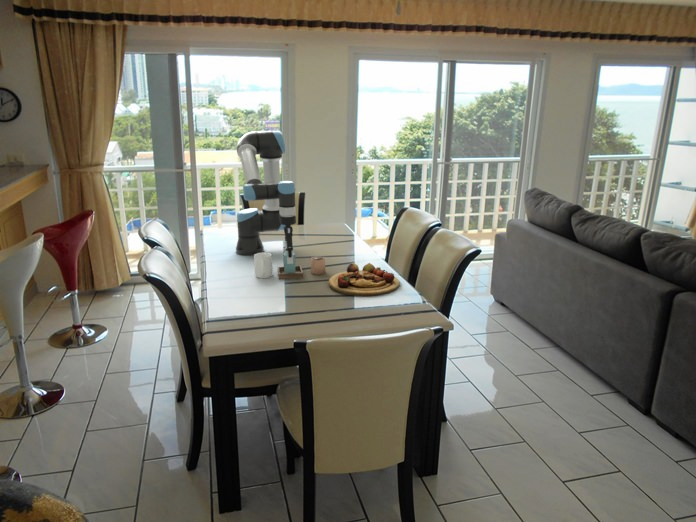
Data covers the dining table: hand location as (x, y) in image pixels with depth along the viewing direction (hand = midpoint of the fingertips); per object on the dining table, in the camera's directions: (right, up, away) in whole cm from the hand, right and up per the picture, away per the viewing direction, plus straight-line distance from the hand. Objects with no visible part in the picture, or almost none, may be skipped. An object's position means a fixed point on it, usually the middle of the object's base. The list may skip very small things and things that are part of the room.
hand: (289, 259), depth 250 cm
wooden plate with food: (+35, -12, -12) cm, 39 cm away
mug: (-12, -9, 0) cm, 15 cm away
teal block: (0, -7, +2) cm, 7 cm away
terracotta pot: (+13, -6, +5) cm, 16 cm away
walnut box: (0, -7, +2) cm, 8 cm away
